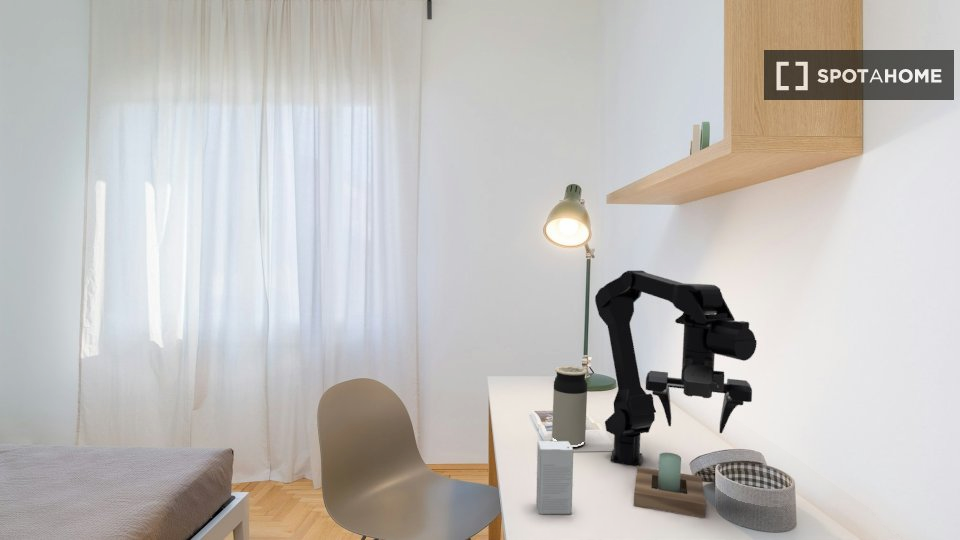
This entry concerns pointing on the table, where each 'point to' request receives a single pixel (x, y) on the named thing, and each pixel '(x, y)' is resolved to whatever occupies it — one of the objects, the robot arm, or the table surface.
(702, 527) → the table surface
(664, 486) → the green peg
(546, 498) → the skincare box
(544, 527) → the table surface
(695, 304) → the robot arm
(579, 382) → the travel mug
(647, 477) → the walnut holder
